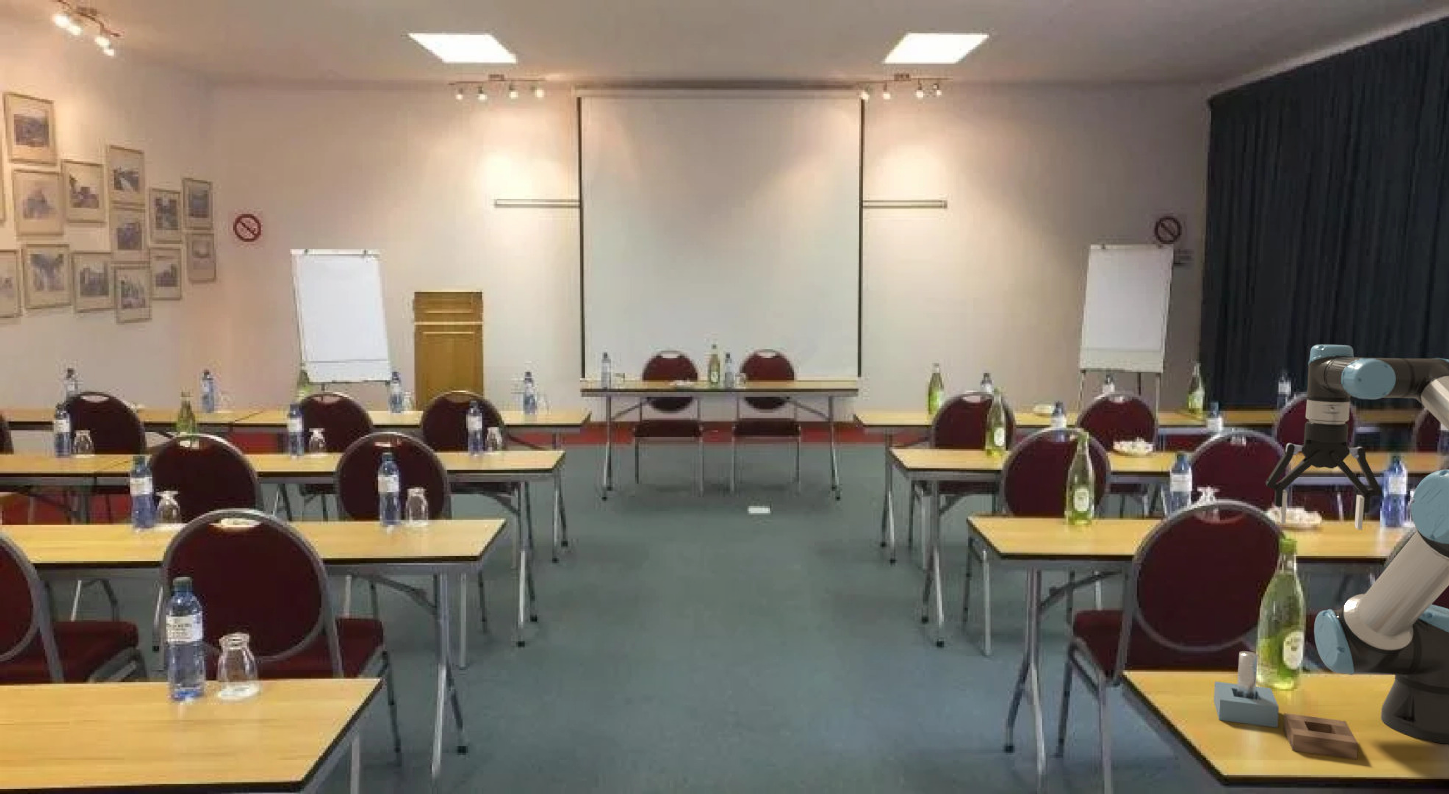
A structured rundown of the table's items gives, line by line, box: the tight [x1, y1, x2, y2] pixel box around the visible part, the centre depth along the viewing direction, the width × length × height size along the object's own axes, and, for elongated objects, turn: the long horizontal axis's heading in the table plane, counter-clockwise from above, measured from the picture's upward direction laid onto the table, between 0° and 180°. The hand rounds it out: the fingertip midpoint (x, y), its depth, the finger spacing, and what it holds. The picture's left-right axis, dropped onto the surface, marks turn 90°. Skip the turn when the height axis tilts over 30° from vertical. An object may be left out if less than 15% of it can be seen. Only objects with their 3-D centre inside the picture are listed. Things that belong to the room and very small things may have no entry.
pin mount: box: [1283, 712, 1359, 760], centre depth 188 cm, size 10×10×3 cm
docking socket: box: [1213, 681, 1280, 728], centre depth 201 cm, size 10×10×4 cm
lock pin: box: [1236, 650, 1259, 699], centre depth 200 cm, size 3×3×12 cm
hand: (1319, 525), depth 210 cm, fingers open, 13 cm apart
